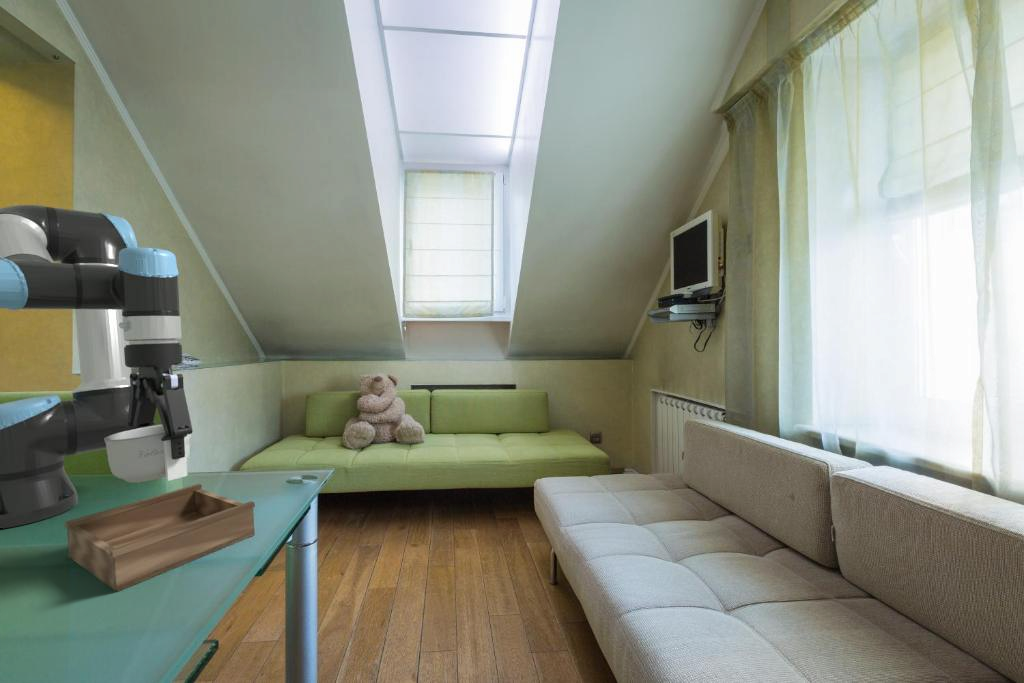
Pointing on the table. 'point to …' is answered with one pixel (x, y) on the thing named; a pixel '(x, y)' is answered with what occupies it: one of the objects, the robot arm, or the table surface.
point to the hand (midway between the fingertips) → (161, 472)
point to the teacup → (139, 453)
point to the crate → (156, 534)
